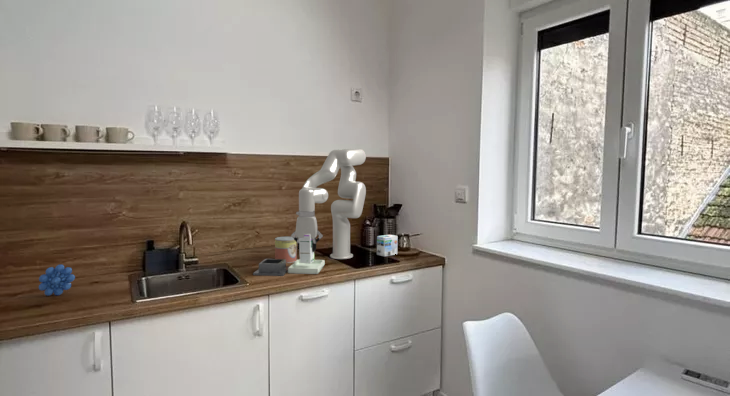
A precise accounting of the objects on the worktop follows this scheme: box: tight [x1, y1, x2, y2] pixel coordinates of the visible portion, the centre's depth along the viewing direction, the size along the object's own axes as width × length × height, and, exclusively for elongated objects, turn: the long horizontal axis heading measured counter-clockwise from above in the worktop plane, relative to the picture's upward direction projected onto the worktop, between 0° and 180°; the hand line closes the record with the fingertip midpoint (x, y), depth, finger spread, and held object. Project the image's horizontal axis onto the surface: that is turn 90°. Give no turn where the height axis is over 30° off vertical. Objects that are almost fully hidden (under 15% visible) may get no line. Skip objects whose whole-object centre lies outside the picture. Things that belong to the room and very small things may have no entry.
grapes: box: [38, 264, 76, 296], centre depth 158 cm, size 12×7×12 cm, turn 113°
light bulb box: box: [376, 234, 399, 257], centre depth 234 cm, size 11×7×11 cm, turn 131°
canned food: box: [274, 236, 298, 264], centre depth 217 cm, size 11×11×12 cm
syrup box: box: [298, 234, 315, 264], centre depth 200 cm, size 6×6×14 cm
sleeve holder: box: [252, 258, 291, 277], centre depth 195 cm, size 14×14×5 cm
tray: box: [287, 258, 326, 275], centre depth 201 cm, size 18×14×2 cm
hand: (307, 250), depth 200 cm, fingers closed on syrup box, 6 cm apart
